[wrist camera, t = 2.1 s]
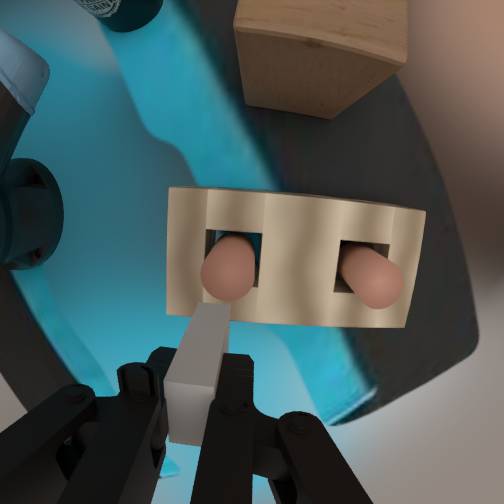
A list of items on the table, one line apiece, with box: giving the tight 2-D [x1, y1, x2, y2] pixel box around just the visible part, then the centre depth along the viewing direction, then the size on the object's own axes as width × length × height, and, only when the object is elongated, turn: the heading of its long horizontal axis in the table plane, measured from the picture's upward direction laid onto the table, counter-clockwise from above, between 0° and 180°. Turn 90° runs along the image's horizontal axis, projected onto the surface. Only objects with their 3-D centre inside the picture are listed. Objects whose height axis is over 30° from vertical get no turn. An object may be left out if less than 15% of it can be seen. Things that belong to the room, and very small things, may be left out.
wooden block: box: [233, 0, 407, 120], centre depth 23 cm, size 10×10×20 cm
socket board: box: [167, 186, 426, 328], centre depth 33 cm, size 24×12×8 cm, turn 86°
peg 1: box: [200, 232, 255, 301], centre depth 28 cm, size 4×4×8 cm
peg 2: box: [336, 242, 404, 309], centre depth 28 cm, size 4×4×8 cm
